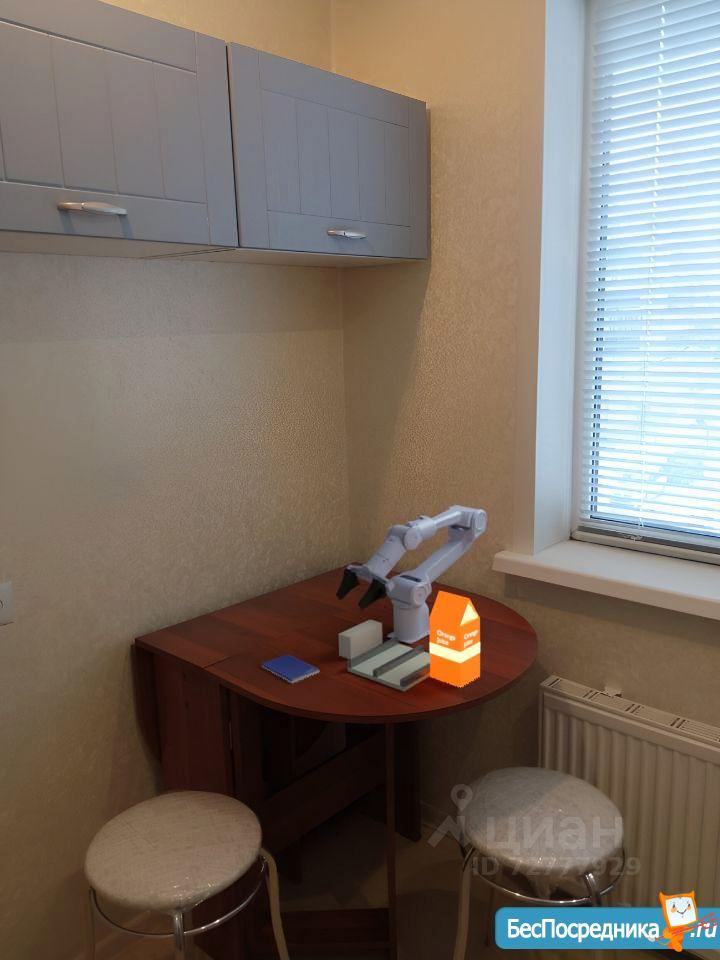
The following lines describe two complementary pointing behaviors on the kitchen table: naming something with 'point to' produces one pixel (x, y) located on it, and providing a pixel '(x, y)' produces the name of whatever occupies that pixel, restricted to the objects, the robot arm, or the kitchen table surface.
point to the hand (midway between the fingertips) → (349, 602)
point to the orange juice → (454, 640)
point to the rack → (392, 664)
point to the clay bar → (360, 639)
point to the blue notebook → (290, 668)
